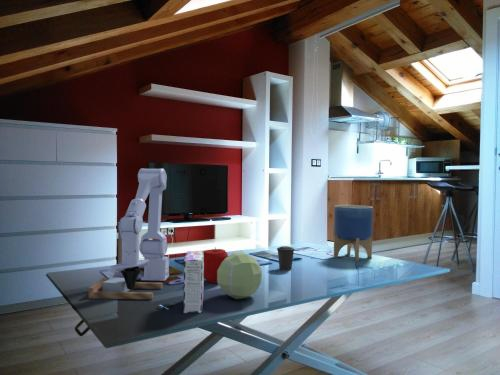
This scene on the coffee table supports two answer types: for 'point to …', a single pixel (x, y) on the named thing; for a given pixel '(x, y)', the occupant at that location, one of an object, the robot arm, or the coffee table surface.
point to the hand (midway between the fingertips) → (130, 289)
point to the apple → (213, 263)
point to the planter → (353, 228)
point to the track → (97, 292)
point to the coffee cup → (285, 257)
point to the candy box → (193, 281)
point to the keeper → (115, 285)
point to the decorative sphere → (239, 275)
